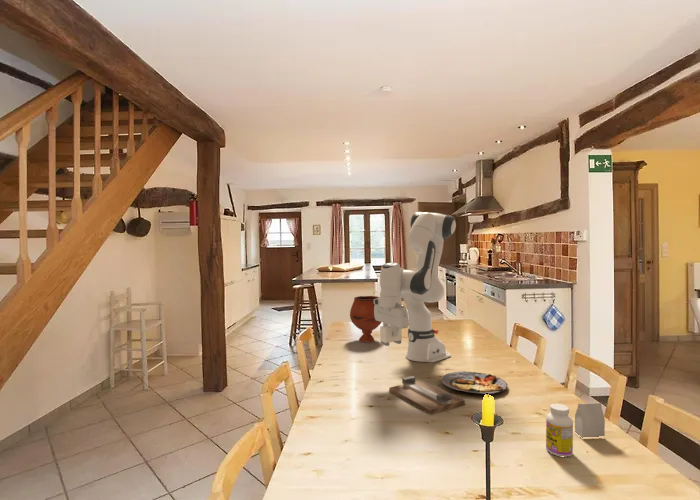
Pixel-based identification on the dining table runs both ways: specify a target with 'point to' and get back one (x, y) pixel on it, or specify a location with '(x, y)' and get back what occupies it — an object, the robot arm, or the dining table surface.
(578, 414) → the grey upright block
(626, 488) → the dining table surface
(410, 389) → the rail board
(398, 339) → the block
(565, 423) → the supplement bottle
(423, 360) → the robot arm
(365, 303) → the goblet
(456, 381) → the food plate
